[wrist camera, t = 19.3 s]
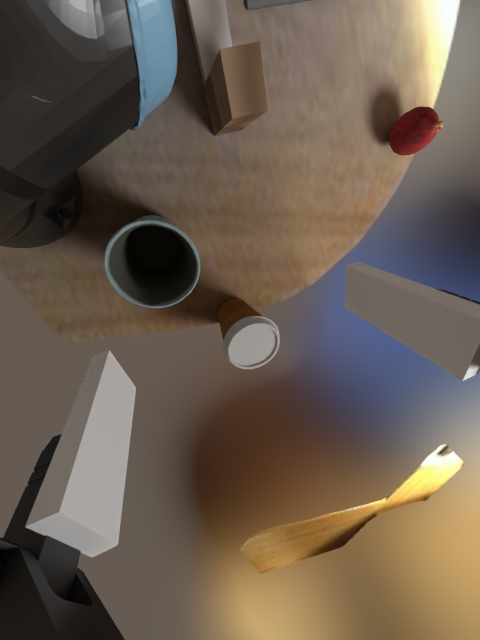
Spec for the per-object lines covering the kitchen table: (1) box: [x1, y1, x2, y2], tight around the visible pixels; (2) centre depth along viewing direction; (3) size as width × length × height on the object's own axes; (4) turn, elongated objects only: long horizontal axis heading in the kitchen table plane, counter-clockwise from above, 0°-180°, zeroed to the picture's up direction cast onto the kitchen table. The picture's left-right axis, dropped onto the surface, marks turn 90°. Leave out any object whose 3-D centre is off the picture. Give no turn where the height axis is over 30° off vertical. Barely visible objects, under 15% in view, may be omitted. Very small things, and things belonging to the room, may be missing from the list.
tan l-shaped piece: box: [185, 0, 267, 136], centre depth 23 cm, size 4×19×9 cm, turn 12°
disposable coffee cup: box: [218, 299, 280, 369], centre depth 40 cm, size 10×10×12 cm
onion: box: [390, 107, 444, 155], centre depth 35 cm, size 6×6×8 cm
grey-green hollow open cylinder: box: [104, 215, 200, 308], centre depth 31 cm, size 10×10×12 cm
